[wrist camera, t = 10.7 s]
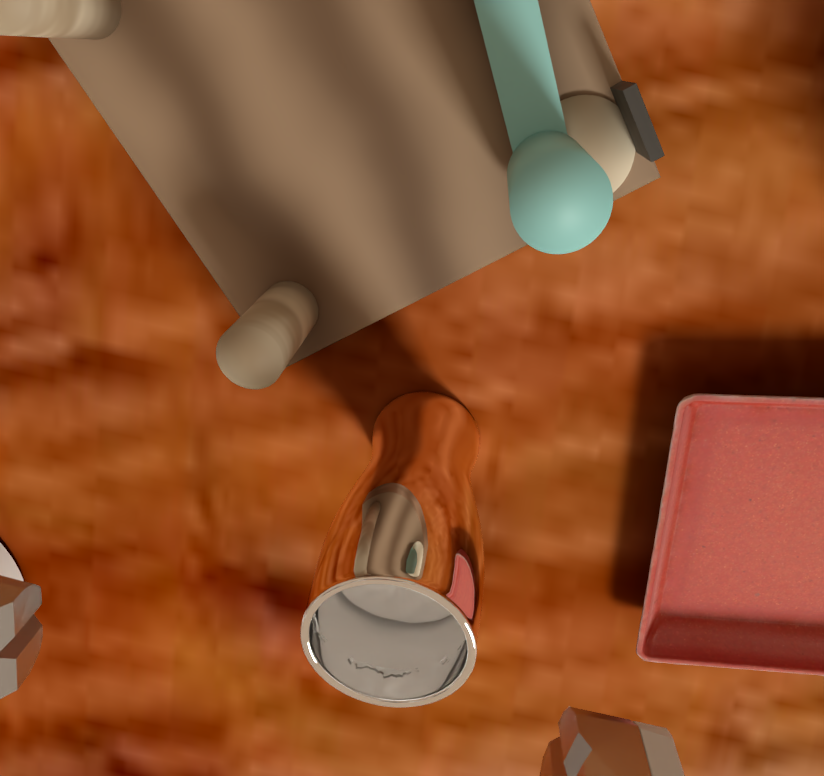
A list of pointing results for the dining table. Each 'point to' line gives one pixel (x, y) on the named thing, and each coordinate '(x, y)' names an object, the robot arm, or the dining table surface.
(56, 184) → the dining table surface
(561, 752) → the robot arm
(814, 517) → the plant saucer
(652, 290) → the dining table surface
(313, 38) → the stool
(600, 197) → the folding leg
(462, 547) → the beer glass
